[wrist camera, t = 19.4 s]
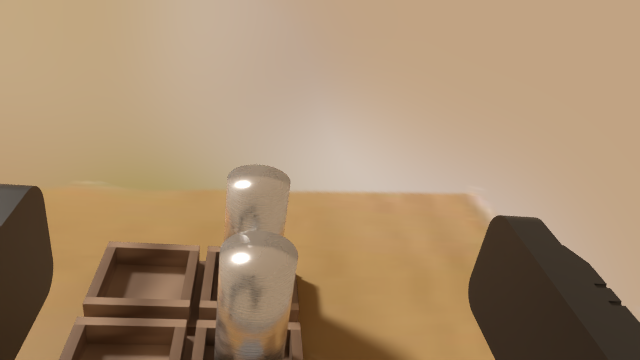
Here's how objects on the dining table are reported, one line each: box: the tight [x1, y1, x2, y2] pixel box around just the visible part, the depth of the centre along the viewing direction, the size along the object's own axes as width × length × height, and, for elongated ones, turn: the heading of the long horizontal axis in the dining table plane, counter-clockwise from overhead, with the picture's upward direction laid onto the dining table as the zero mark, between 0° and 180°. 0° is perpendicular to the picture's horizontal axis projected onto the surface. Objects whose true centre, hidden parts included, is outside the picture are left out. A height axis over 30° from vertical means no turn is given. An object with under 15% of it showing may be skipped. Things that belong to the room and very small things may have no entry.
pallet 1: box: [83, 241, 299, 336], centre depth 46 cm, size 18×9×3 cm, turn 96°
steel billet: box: [214, 230, 298, 360], centre depth 36 cm, size 5×5×12 cm
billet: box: [224, 165, 290, 241], centre depth 44 cm, size 5×5×12 cm
